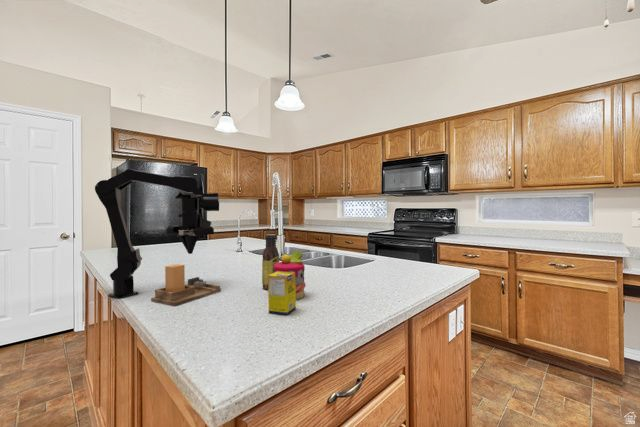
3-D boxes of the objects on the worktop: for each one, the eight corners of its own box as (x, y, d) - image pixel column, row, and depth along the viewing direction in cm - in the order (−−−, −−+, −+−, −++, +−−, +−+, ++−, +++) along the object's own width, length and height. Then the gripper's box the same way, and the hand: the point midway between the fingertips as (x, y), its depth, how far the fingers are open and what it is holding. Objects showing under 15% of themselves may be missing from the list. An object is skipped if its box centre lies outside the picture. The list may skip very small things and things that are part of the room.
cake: (292, 303, 94) (292, 255, 94) (266, 298, 100) (266, 252, 100) (311, 294, 103) (310, 251, 103) (286, 290, 109) (286, 249, 108)
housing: (151, 301, 97) (151, 288, 97) (198, 287, 113) (198, 276, 113) (175, 306, 92) (175, 293, 92) (220, 291, 108) (220, 280, 108)
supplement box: (296, 308, 89) (295, 272, 89) (287, 315, 83) (287, 276, 83) (277, 306, 91) (277, 270, 91) (268, 313, 85) (267, 274, 85)
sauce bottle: (275, 290, 108) (275, 235, 108) (259, 289, 110) (259, 235, 109) (281, 286, 115) (281, 233, 114) (266, 285, 116) (265, 233, 116)
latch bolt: (193, 287, 109) (193, 279, 109) (198, 285, 112) (198, 278, 111) (200, 288, 108) (200, 280, 108) (206, 286, 110) (206, 279, 110)
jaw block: (165, 297, 98) (165, 266, 98) (177, 293, 102) (177, 264, 102) (173, 298, 96) (172, 267, 96) (184, 295, 100) (184, 264, 100)
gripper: (224, 211, 114) (225, 252, 114) (190, 211, 123) (191, 249, 123) (201, 211, 104) (201, 256, 104) (165, 211, 113) (166, 253, 113)
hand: (190, 253), depth 111 cm, fingers closed
